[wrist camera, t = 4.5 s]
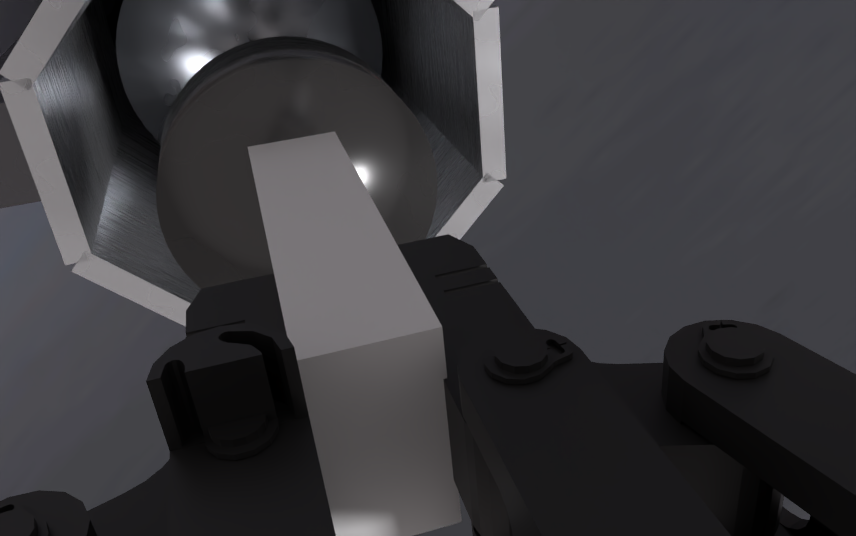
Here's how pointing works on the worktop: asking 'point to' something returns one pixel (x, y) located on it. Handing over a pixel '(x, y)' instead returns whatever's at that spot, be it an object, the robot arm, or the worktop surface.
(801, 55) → the worktop surface
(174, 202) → the plunger
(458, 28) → the octagonal silver cylinder
